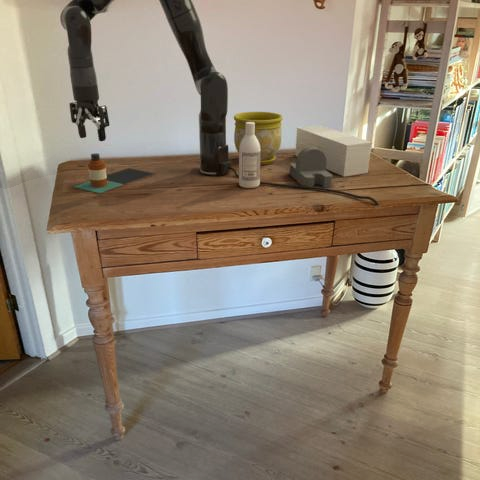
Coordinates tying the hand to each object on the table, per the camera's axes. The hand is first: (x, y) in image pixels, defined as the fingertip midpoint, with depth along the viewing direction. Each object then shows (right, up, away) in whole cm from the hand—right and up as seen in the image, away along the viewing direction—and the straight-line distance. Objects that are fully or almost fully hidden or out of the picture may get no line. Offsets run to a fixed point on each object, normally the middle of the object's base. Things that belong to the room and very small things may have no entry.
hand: (92, 139), depth 165 cm
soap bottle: (0, -12, +8) cm, 15 cm away
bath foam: (+50, -12, +9) cm, 52 cm away
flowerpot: (+53, +4, +36) cm, 64 cm away
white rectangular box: (+81, +2, +33) cm, 87 cm away
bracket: (+71, -9, +15) cm, 73 cm away
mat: (+4, -10, +13) cm, 17 cm away
